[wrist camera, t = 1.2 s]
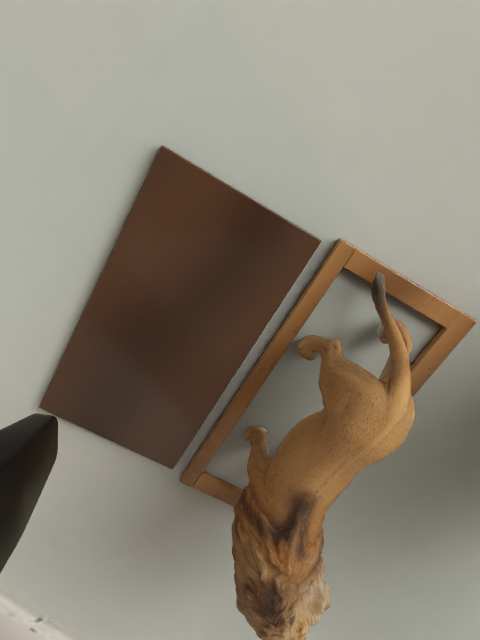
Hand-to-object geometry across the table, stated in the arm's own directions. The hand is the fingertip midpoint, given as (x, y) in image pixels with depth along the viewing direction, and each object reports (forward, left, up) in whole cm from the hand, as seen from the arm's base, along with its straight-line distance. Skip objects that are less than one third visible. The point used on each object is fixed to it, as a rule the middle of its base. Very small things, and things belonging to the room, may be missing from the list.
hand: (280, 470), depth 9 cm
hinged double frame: (-2, +5, -13) cm, 14 cm away
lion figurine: (-6, +5, -13) cm, 15 cm away
